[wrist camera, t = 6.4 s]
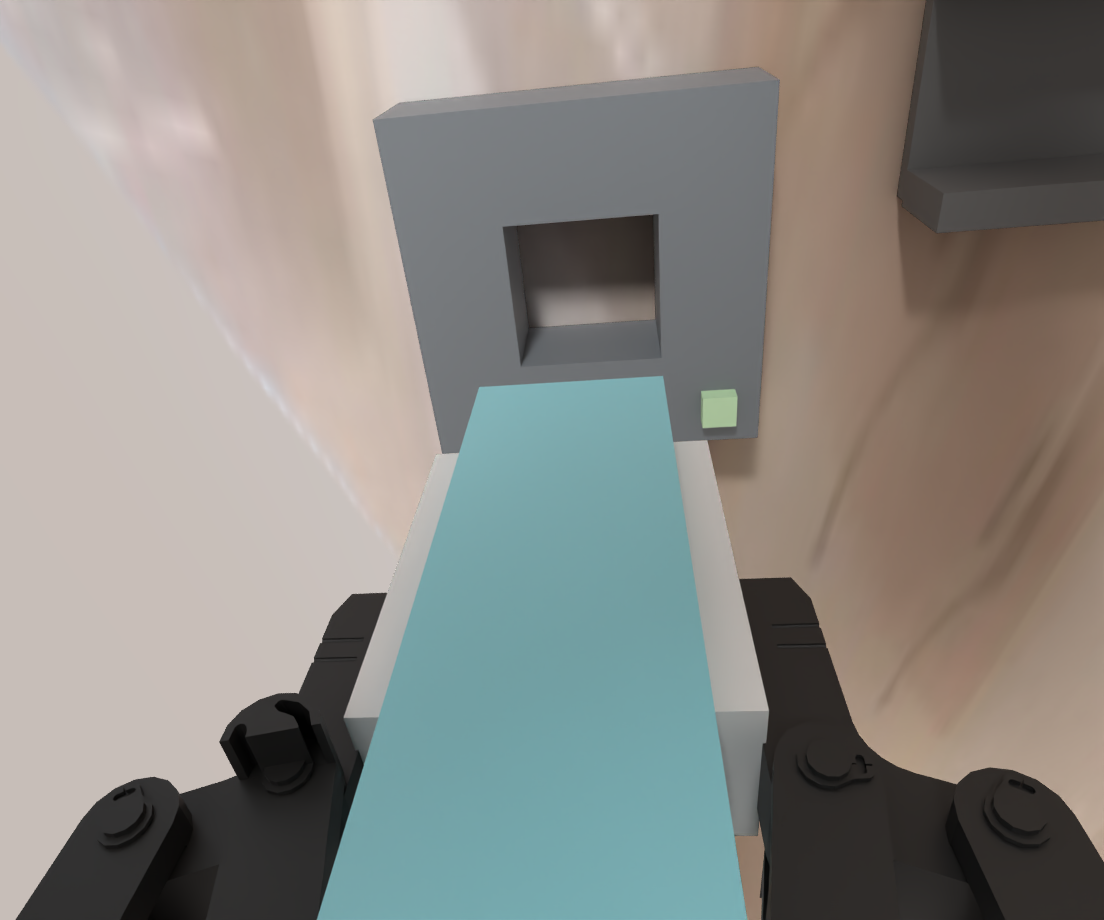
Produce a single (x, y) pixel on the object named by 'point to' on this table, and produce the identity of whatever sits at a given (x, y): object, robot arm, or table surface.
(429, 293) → the port
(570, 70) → the table surface
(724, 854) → the plug
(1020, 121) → the holster
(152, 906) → the robot arm
